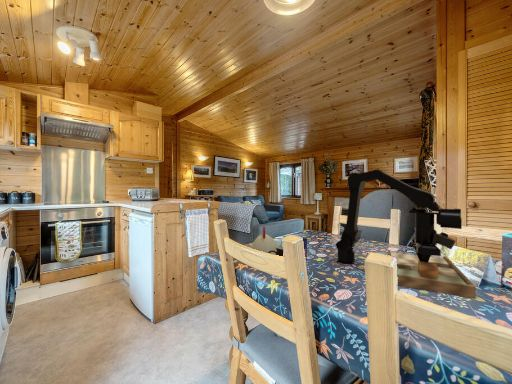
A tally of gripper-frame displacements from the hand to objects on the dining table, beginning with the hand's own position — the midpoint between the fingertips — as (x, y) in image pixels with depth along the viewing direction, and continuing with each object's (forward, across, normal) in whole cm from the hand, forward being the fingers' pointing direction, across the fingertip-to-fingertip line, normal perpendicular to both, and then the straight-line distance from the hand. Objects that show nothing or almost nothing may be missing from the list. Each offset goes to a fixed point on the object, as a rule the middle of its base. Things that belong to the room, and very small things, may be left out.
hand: (424, 268), depth 85 cm
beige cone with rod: (+4, -7, +62) cm, 63 cm away
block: (+1, -4, 0) cm, 4 cm away
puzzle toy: (+4, -4, +48) cm, 49 cm away
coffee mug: (+4, -18, +48) cm, 52 cm away
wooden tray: (+4, +6, 0) cm, 7 cm away
